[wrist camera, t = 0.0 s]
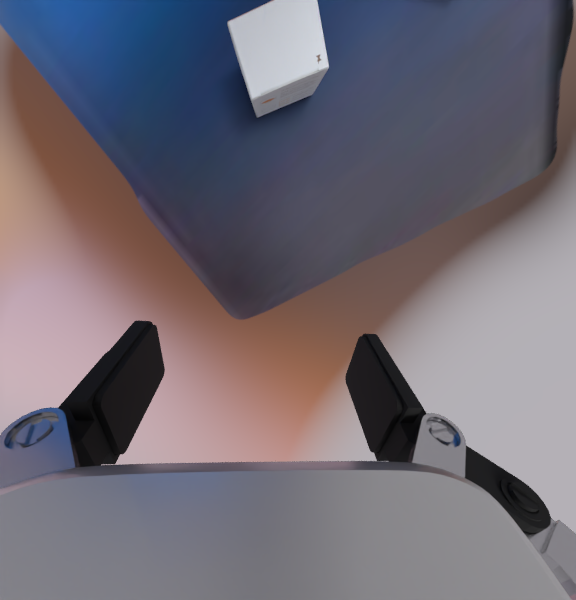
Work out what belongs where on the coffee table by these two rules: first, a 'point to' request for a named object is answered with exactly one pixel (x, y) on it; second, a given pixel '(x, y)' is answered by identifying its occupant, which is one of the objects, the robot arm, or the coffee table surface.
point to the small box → (280, 52)
